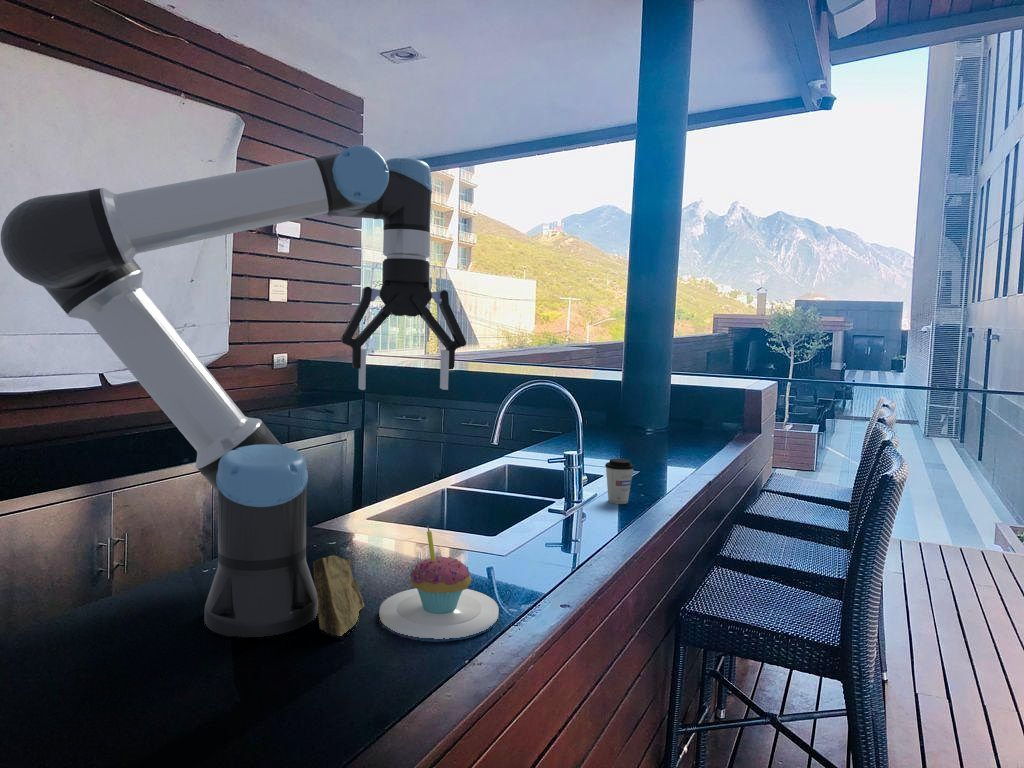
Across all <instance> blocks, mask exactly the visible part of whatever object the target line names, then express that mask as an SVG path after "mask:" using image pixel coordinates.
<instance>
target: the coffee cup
mask: <svg viewBox="0 0 1024 768" xmlns="http://www.w3.org/2000/svg"><path fill="white" fill-rule="evenodd" d="M604 467H605V470H606V471H605V472H606V484H607V486H606V487H607V499H608V502H609V503H611V504H617V505H624V504H628V503H629V497H630V490H631V484H632V478H633V473H634V469H635V466H634V464H633V463H631V461H630V459H626V458H610V459H609V462H606V463H605V465H604Z"/></svg>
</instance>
